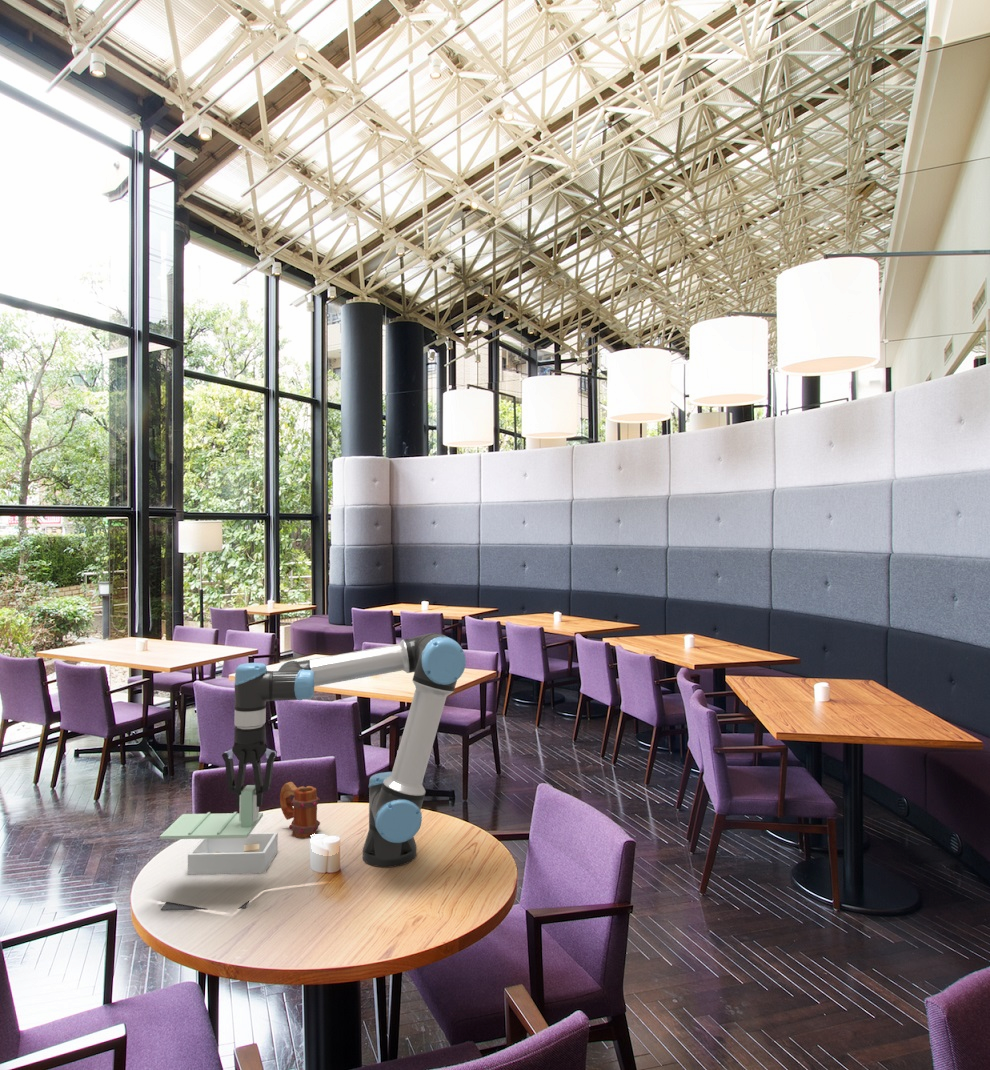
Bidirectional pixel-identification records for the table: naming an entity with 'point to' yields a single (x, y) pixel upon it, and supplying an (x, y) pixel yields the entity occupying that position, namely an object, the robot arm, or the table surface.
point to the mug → (300, 809)
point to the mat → (186, 907)
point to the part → (251, 848)
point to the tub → (233, 855)
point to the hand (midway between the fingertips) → (249, 819)
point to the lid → (216, 822)
